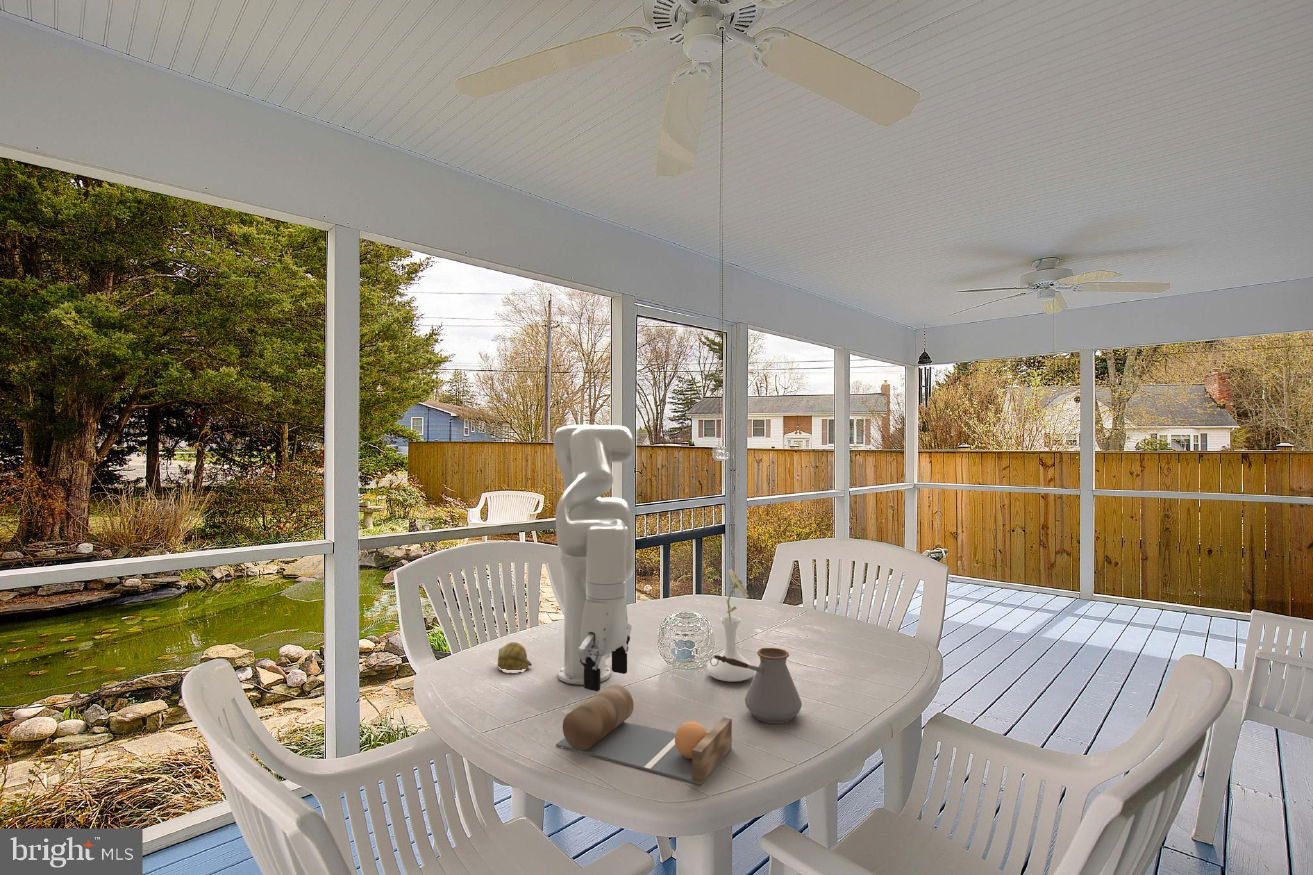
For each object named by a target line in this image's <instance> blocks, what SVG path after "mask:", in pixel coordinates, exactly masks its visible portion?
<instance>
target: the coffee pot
mask: <svg viewBox="0 0 1313 875" xmlns="http://www.w3.org/2000/svg"><path fill="white" fill-rule="evenodd" d="M756 654H757V655H758V657H759V661H760V663H759V664H758V666H756V665H753V664H752V665H749V664H747V663H744V662H741V661H739V660H736V659H733V658H726V657H725V656H723V657H721V656H719V655H720V654H719V655H718V654H717V655H713V656H711V657H710V659H709V660H710V661H709V663H711V661H712V660H713V658H714V659H717V660H718V661H719V660H721V661H722V662H723V663H724V662H727V663H729V664H730V665H734V666H738V667H743V668H748V669H751V670H754V671H755V673H754V675H753V679H752V680H751V684H750V686H749V688H748V690H747V692H746V695H745V697H744V702H745V706H746V709H748V711H749V712H750V713H751V714H752V715H753V716H754V717H755V719H757V720H759V721H760V722H764V723H767V724H785V723H788V722H790V721H792V719H793V718H794V717H795V716H796V715H798V714H799V713H800V712H801V711H800V710H801V708H802V705H803V704H802V701H801V697H800V695H799V692H798V690H797V688H796V686H795V682H794V680H793V678H792V674H791V673H790V670H789V668H788V666H787V659H788V658H789V657H790V653H789V651H787V650H785V649H781V648H776V647H762V648H760V649H758V650H757V652H756ZM718 661H717V664H718ZM717 664H716V665H717ZM711 665H712V663H711ZM716 665H712V666H716ZM784 722H785V723H784Z"/></svg>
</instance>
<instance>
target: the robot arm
mask: <svg viewBox="0 0 1313 875" xmlns="http://www.w3.org/2000/svg"><path fill="white" fill-rule="evenodd" d="M552 442H553V452H554V458H555V459H556V460H555V461H556V464H557V467H558V469H559V471H560V473H561V477H562V481H563V486H564V491H563V492H562V494H561V496H560V498H559V499H558V502H557V505H556V510H555V532H556V543H557V549H558V550H559V552H560V553H561V554H560V569H561V576H562V584H563V594H564V595H563V603H564V604H563V606H564V608H563V610H564V612H563V613H564V617H563V621H564V623H563V626H564V628H563V630H564V633H563V634H564V635H563V636H564V637H563V639H564V640H563V644H564V646H563V648H564V654H563V657H564V659H563V661H564V662H563V664H564V665H563V666H561V667H560V668H559V669H558V671H557V678H558V680H559V681H561V682H563V681H564V682H563V683H565V682H566V684H569V683H570V685H578V686H581V685H582V686H583V688H584V689H585V690H589V691H593V692H600V690H601V683H602V682H604V681H606V680H608V679H609V678H610V677H611V674H612V673H616V674H617V673H618V674H622V675H625V674H627V673H628V652H629V643H630V641H631V631H632V625H631V624H630V623H628V621H629V620H628V605H627V581H628V580H630V579H631V578H632V577H633V574H634V572H635V552H634V550H635V549H634V539H633V522H632V515H631V510H630V506H629V503H628V502H627V501H626V500H625V499H623V498H621V497H602V496H604V495H605V494H607V493H608V492H609V491H610V490H611V488H612V487H613V485H614V477H613V472H612V465H611V463H613V464H614V463H616V464H617V463H621V464H623V463H628V462H630V461H631V460H632V458H633V457H634V453H635V452H634V451H635V441H634V437H633V434H632V432H631V430H630V429H629V428H628V427H626V426H624V425H615V424H610V425H609V424H571V425H565V426H562V427H559V428H557V429H556V430H555V432H554V435H553V441H552ZM610 657H611V667H610V666H608V665H607V664H606V661H607V659H609V658H610Z"/></svg>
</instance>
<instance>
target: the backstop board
mask: <svg viewBox="0 0 1313 875" xmlns="http://www.w3.org/2000/svg"><path fill="white" fill-rule="evenodd" d="M732 729H733V719H732V718H728V717H724V716H723V717H722V718H721V719H720V720H719V721H718V722H717V723H716V724H715V725H714V726H713V728H712V729H711V730H709V732H707V733H708V734H707V735H706V736H705V737H704V738H703V739H702V740H701V741H700V742H699V743H698V744H697V745H696V746H695V748H694V749H693V750H692V780H693V781H697V782H702V781H703V780H704V779H705V778H706V776H707V775H708V774H709V773H710V772H711V770H712V769H713V768H714V767H715V766H716V764H717V763H718V762H719V761H720V760H721V759H722V757H723V756H724V755H725V754H726V753H727V751H728V750H729V749H730V748H731V747H732V748H733V746H732V743H733V742H732V740H733V738H732V737H733V735H732V734H733V733H732V732H733V730H732Z"/></svg>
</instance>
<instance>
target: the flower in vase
mask: <svg viewBox="0 0 1313 875" xmlns="http://www.w3.org/2000/svg"><path fill="white" fill-rule="evenodd" d="M728 574H729V577H730V579H731V581H732V583H733V587H732V588H731V590H730V593H729V595H728V598H727V599H726V600H725V601H726V604H727V611H726V613H728V615H727V616H725V615H724V616H722V617H720V618H719V621H721V623H722V625H723V628H724V632H725V647H724V649H723V651H722V652H721V653H720V654H719V656H721V657H723V656H725V657H726V658H733V659H736V660H739V661H741V662H744V663H747V664H749V665H753V664H752V663H751V662H750V661H749V660H748V659H747V658H746V657H744V656H743V655H741V653H740V652H739V651H738V649H737V647H736V635H737V629H738V626H739V624H740V623H741V622H742V618H740V617H738V616H734V615H731V612H734V611H735V610H736V609H738V608H737V607H736V606H733V607H731V605H730V599H731V596H732V594H733V591H734V590H735V588H736V589H737V591H738V592H739V593H740V595H741V596H742V597H744V598H745V599H747V598H749V596H750V595H748V590H747V589H746V588H745V586H744V584H743V583H744V582H743V580H742V579H741V578H739V576H738V574H737V572H736V571H733V569H732V568H731V569H730V570H728ZM717 661H718V660H717V659H715V658H714V659H713V658H712V659H711V663H712V665H716V664H717ZM711 663H710V662H709V663H708V664H707V667H706V672H707V673H708V675H709V676H710V677H712V678H713V679H716V680H718V681H719V680H720V681H722V682H723V681H724V682H731V683H733V682H734V683H735V682H742V681H746V680H749V679H751V678H752V677H754V676H755V674H756V671H754V670H751V669H748V668H743V667H738V666H734V665H730V664H729V663H727V662H724V663H723V662H722V661H721V660H719V661H718V664H717V665H716V666H712V665H711Z"/></svg>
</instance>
